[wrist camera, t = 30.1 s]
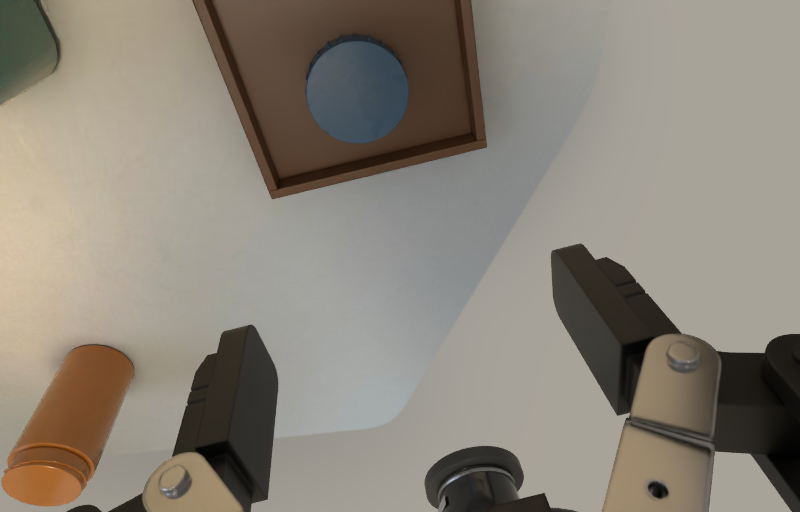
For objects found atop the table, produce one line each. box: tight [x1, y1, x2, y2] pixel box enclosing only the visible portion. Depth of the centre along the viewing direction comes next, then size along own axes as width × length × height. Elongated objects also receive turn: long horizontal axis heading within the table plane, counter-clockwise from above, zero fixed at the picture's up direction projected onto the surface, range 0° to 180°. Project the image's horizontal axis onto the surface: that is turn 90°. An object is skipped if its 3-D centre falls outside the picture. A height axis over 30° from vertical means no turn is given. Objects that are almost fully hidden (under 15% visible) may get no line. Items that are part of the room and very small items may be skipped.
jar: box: [2, 345, 134, 506], centre depth 37 cm, size 5×5×10 cm
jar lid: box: [305, 33, 409, 144], centre depth 30 cm, size 6×6×2 cm
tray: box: [192, 0, 487, 199], centre depth 29 cm, size 14×14×2 cm
